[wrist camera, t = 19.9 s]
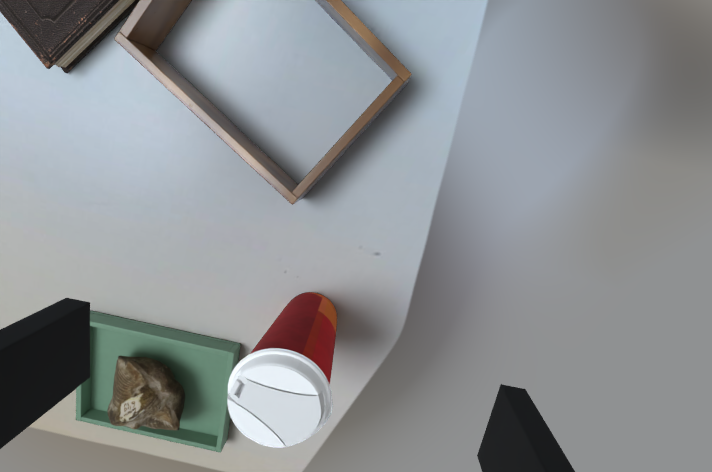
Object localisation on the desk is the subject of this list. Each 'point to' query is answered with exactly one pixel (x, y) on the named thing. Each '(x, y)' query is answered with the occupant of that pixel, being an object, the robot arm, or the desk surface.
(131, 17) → the rectangular frame
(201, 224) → the desk surface
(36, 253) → the desk surface
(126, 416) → the fossilized seashell
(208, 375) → the tray
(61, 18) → the hardcover book
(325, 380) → the paper cup
